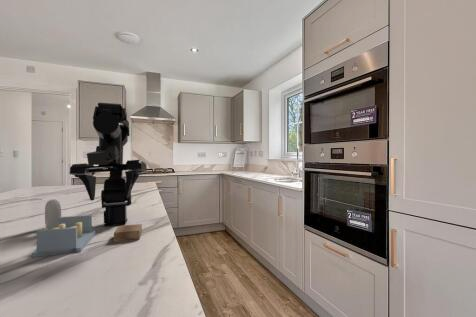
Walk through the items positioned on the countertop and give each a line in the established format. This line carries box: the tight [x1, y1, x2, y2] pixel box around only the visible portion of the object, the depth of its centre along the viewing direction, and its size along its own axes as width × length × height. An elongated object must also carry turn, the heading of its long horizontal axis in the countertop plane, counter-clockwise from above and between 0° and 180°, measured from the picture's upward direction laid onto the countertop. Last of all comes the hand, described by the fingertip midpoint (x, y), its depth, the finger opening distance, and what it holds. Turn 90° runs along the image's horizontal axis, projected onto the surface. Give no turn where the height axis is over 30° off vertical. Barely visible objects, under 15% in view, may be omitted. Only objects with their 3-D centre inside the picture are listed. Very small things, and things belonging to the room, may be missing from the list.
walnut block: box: [113, 223, 143, 243], centre depth 68 cm, size 6×6×3 cm
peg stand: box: [31, 214, 97, 258], centre depth 63 cm, size 10×14×6 cm
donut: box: [44, 199, 62, 230], centre depth 75 cm, size 10×4×10 cm, turn 46°
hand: (109, 198), depth 65 cm, fingers open, 9 cm apart
